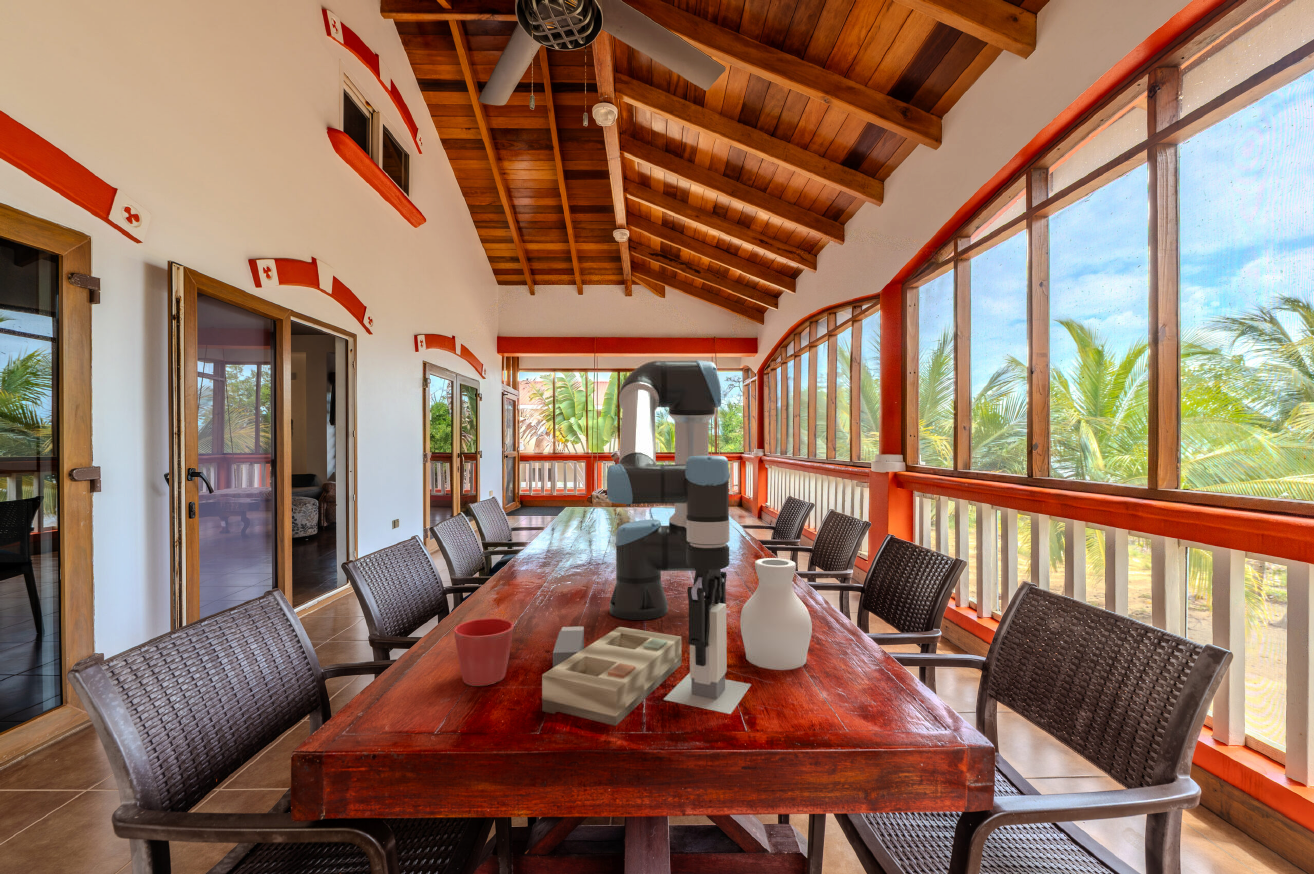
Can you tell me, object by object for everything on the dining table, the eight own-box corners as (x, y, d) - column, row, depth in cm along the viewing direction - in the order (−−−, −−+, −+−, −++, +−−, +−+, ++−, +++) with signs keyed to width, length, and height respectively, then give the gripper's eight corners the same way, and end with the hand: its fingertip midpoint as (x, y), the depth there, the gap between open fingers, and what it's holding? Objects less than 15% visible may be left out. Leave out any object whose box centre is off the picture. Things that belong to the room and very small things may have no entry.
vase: (726, 661, 113) (725, 562, 113) (764, 642, 124) (763, 551, 124) (789, 682, 104) (788, 573, 104) (825, 659, 114) (824, 561, 114)
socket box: (619, 655, 117) (619, 624, 117) (681, 667, 111) (681, 634, 111) (542, 710, 93) (542, 671, 93) (615, 729, 87) (615, 687, 87)
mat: (689, 675, 107) (689, 672, 107) (751, 687, 102) (751, 684, 102) (663, 702, 96) (663, 699, 96) (730, 717, 91) (730, 713, 91)
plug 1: (561, 649, 121) (561, 626, 121) (584, 648, 121) (584, 625, 121) (552, 679, 106) (552, 652, 106) (579, 678, 106) (579, 651, 106)
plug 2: (700, 683, 102) (699, 600, 102) (726, 688, 100) (726, 603, 100) (690, 694, 98) (689, 608, 98) (717, 700, 95) (716, 611, 95)
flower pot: (495, 661, 114) (495, 613, 114) (524, 677, 106) (524, 626, 106) (444, 677, 107) (444, 626, 107) (471, 696, 99) (471, 640, 99)
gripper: (705, 533, 108) (706, 654, 108) (666, 551, 92) (667, 693, 92) (743, 536, 105) (744, 661, 105) (710, 555, 89) (710, 702, 89)
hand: (708, 675), depth 99 cm, fingers closed on plug 2, 5 cm apart
